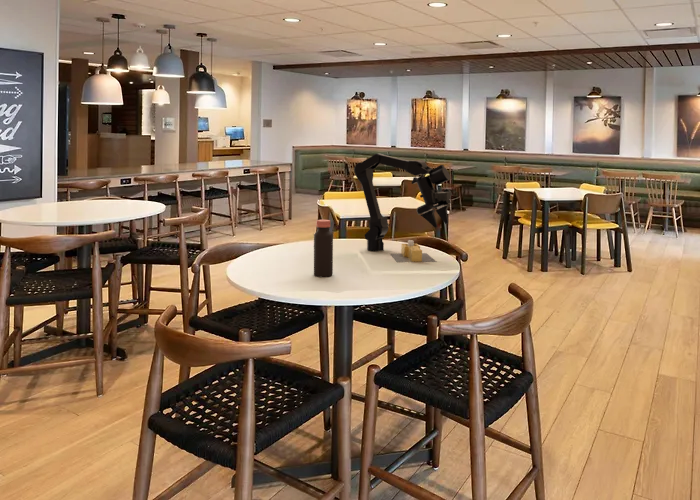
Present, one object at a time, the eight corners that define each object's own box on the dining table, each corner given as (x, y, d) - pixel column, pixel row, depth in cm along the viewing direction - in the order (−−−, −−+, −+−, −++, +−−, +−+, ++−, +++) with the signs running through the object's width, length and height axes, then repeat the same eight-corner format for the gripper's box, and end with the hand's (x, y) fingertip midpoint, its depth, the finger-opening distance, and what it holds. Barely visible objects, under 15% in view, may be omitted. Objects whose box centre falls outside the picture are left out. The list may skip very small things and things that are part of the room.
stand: (396, 265, 241) (397, 246, 239) (389, 256, 258) (389, 238, 257) (436, 264, 242) (437, 246, 241) (426, 255, 260) (426, 238, 259)
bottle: (325, 278, 217) (326, 222, 213) (310, 275, 221) (310, 220, 217) (336, 274, 223) (336, 220, 219) (320, 272, 226) (321, 218, 223)
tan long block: (424, 261, 242) (425, 250, 241) (408, 261, 241) (409, 250, 241) (416, 254, 257) (416, 243, 256) (401, 254, 256) (401, 243, 256)
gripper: (432, 185, 237) (447, 222, 236) (454, 179, 252) (468, 215, 251) (409, 195, 244) (424, 232, 243) (432, 189, 258) (446, 224, 258)
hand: (441, 225), depth 249 cm, fingers open, 9 cm apart
